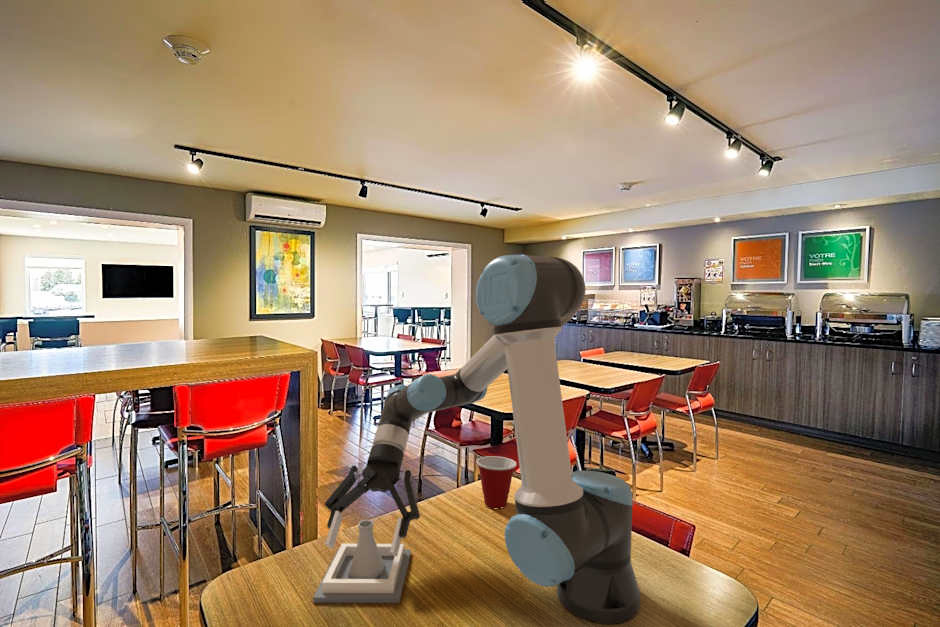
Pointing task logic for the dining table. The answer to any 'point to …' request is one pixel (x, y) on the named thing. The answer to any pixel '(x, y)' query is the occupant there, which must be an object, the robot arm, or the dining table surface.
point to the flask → (366, 554)
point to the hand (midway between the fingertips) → (360, 550)
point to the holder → (364, 590)
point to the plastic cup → (496, 479)
